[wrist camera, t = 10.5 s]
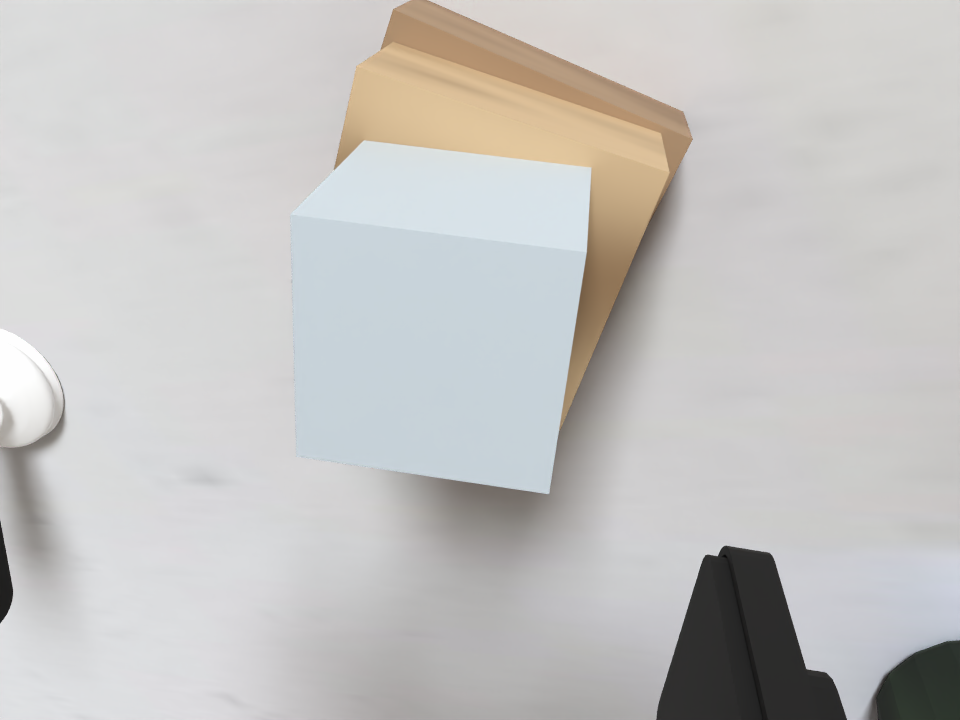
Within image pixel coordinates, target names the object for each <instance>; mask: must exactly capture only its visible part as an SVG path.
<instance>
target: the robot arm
mask: <svg viewBox="0 0 960 720" xmlns="http://www.w3.org/2000/svg"><path fill="white" fill-rule="evenodd" d="M12 598H13V587H12V582H11V576H10V571H9V565H8V560H7V555H6V549H5V544H4V538H3V533H2V528H1V522H0V623H1V622H2V620H3V619H4V618H5V616H6V615H7V613H8V611H9V609H10V606H11V603H12ZM657 720H847V718H846V715H845V712H844V709H843V706H842V703H841V700H840V697H839V694H838V691H837V689H836V686H835V684H834V682H833V680H832V678H831V677H830V676H829V675H828V674H827V673H825V672H819V671H813V670H807V669H806V667H805V664H804V660H803V657H802V653H801V650H800V646H799V643H798V640H797V636H796V633H795V629H794V626H793V622H792V619H791V616H790V612H789V609H788V605H787V602H786V598H785V595H784V592H783V588H782V585H781V581H780V578H779V574H778V571H777V568H776V564H775V561H774V559H773V556H772V555H771V554H770V553H767V552H761V551H755V550H749V549H742V548H736V547H730V546H724V547H723V548H722V549H721V550H720V553H719V555H718V556H713V555H705V557H704V558H703V561H702V564H701V567H700V570H699V573H698V577H697V580H696V583H695V586H694V590H693V593H692V596H691V600H690V603H689V606H688V609H687V613H686V616H685V619H684V622H683V626H682V629H681V632H680V635H679V639H678V642H677V645H676V648H675V652H674V655H673V658H672V662H671V665H670V668H669V671H668V675H667V678H666V681H665V684H664V688H663V691H662V694H661V697H660V701H659V705H658V711H657Z"/></svg>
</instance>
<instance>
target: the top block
mask: <svg viewBox="0 0 960 720" xmlns="http://www.w3.org/2000/svg"><path fill="white" fill-rule="evenodd" d="M364 140H366V141H375V142H383V143H391V144H400V145H408V146H416V147H424V148H433V149H441V150H449V151H458V152H466V153H474V154H483V155H491V156H499V157H508V158H516V159H524V160H533V161H541V162H549V163H558V164H566V165H574V166H583V167H591V186H590V203H589V221H588V238H587V254H586V260H585V267H584V273H583V279H582V286H581V292H580V299H579V305H578V311H577V318H576V324H575V331H574V337H573V344H572V350H571V356H570V363H569V369H568V376H567V382H566V389H565V395H564V401H563V408H562V414H561V421H560V427H559V430H560V429H561V427H562V425H563V422H564V420H565V418H566V415H567V413H568V411H569V408H570V406H571V404H572V401H573V399H574V397H575V394H576V392H577V389H578V387H579V385H580V382H581V380H582V378H583V375H584V373H585V371H586V368H587V366H588V364H589V361H590V359H591V357H592V354H593V352H594V349H595V347H596V345H597V342H598V340H599V338H600V335H601V333H602V331H603V328H604V326H605V324H606V321H607V319H608V317H609V314H610V312H611V309H612V307H613V305H614V302H615V300H616V298H617V295H618V293H619V291H620V288H621V286H622V284H623V281H624V279H625V277H626V274H627V272H628V269H629V267H630V265H631V262H632V260H633V258H634V255H635V253H636V251H637V248H638V246H639V244H640V241H641V239H642V237H643V234H644V232H645V229H646V227H647V225H648V222H649V220H650V218H651V215H652V213H653V211H654V208H655V206H656V204H657V201H658V199H659V197H660V194H661V192H662V190H663V187H664V185H665V182H666V180H667V178H668V175H669V173H670V172H669V168H668V163H667V158H666V154H665V149H664V145H663V140H662V136H661V133H659V132H656V131H653V130H650V129H647V128H644V127H641V126H638V125H636V124H633V123H630V122H627V121H624V120H621V119H618V118H615V117H612V116H609V115H606V114H603V113H600V112H597V111H595V110H592V109H589V108H586V107H583V106H580V105H577V104H574V103H571V102H568V101H565V100H562V99H559V98H556V97H553V96H551V95H548V94H545V93H542V92H539V91H536V90H533V89H530V88H527V87H524V86H521V85H518V84H515V83H512V82H509V81H507V80H504V79H501V78H498V77H495V76H492V75H489V74H486V73H483V72H480V71H477V70H474V69H471V68H468V67H465V66H463V65H460V64H457V63H454V62H451V61H448V60H445V59H442V58H439V57H436V56H433V55H430V54H427V53H424V52H422V51H419V50H416V49H413V48H410V47H407V46H404V45H401V44H398V43H395V42H392V43H391V44H389V45H388V46H386V47H385V48H383V49H382V50H380V51H379V52H377V53H376V54H374V55H373V56H371V57H370V58H368V59H367V60H365V61H364V62H362V63H361V64H359V65H358V66H357V67H356V71H355V76H354V80H353V85H352V90H351V94H350V99H349V103H348V108H347V113H346V117H345V122H344V126H343V131H342V136H341V140H340V145H339V149H338V154H337V159H336V163H335V168H334V170H335V169H336V168H337V167H338V166H339V165H340V164H341V163H342V162H343V161H344V160H345V159H346V158H347V157H348V156H349V155H350V154H351V153H352V152H353V151H354V150H355V149H356V148H357V147H358V146H359V145H360V144H361V143H362V142H363V141H364Z"/></svg>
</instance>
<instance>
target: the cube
mask: <svg viewBox="0 0 960 720" xmlns="http://www.w3.org/2000/svg"><path fill="white" fill-rule="evenodd" d="M590 186H591V167H583V166H574V165H566V164H558V163H549V162H541V161H533V160H524V159H516V158H508V157H499V156H491V155H483V154H474V153H466V152H458V151H449V150H441V149H433V148H424V147H416V146H408V145H400V144H391V143H383V142H375V141H366V140H364V141H363V142H362V143H361V144H360V145H359V146H358V147H357V148H356V149H355V150H354V151H353V152H352V153H351V154H350V155H349V156H348V157H347V158H346V159H345V160H344V161H343V162H342V163H341V164H340V165H339V166H338V167H337V168H336V169H335V170H334V171H333V172H332V173H331V174H330V175H329V176H328V177H327V178H326V179H325V180H324V181H323V182H322V183H321V184H320V185H319V186H318V187H317V188H316V189H315V190H314V191H313V192H312V193H311V194H310V195H309V196H308V197H307V198H306V199H305V200H304V201H303V202H302V203H301V204H300V205H299V206H298V207H297V208H296V209H295V210H294V211H293V212H292V213H291V214H290V223H291V262H292V302H293V342H294V381H295V421H296V457H302V458H309V459H315V460H322V461H329V462H335V463H342V464H349V465H356V466H362V467H369V468H376V469H383V470H389V471H396V472H403V473H409V474H416V475H423V476H430V477H436V478H443V479H450V480H456V481H463V482H470V483H477V484H483V485H490V486H497V487H504V488H510V489H517V490H524V491H530V492H537V493H544V494H549V491H550V485H551V478H552V472H553V466H554V459H555V453H556V446H557V440H558V433H559V427H560V421H561V414H562V408H563V401H564V395H565V389H566V382H567V376H568V369H569V363H570V356H571V350H572V344H573V337H574V331H575V324H576V318H577V311H578V305H579V299H580V292H581V286H582V279H583V273H584V267H585V260H586V254H587V238H588V221H589V203H590Z"/></svg>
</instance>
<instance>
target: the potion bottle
mask: <svg viewBox="0 0 960 720" xmlns="http://www.w3.org/2000/svg"><path fill="white" fill-rule="evenodd" d="M877 710H878V720H960V640H959V641H947V642H944V643H941V644H938V645H936V646H933V647H930V648H927V649H925V650H922V651H919V652H916V653H915V654H913V655H912V656H911V657H909V658H908V659H907V660H906V661H904V662H903V663H902V664H900V665H899V666H898V667H896V668H895V669H894V670H893V671H892V672H891V673H890V674H889V676H888V677H887V679H886V681H885V683H884V685H883V687H882V689H881V691H880V692H879V694H878V696H877Z"/></svg>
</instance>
